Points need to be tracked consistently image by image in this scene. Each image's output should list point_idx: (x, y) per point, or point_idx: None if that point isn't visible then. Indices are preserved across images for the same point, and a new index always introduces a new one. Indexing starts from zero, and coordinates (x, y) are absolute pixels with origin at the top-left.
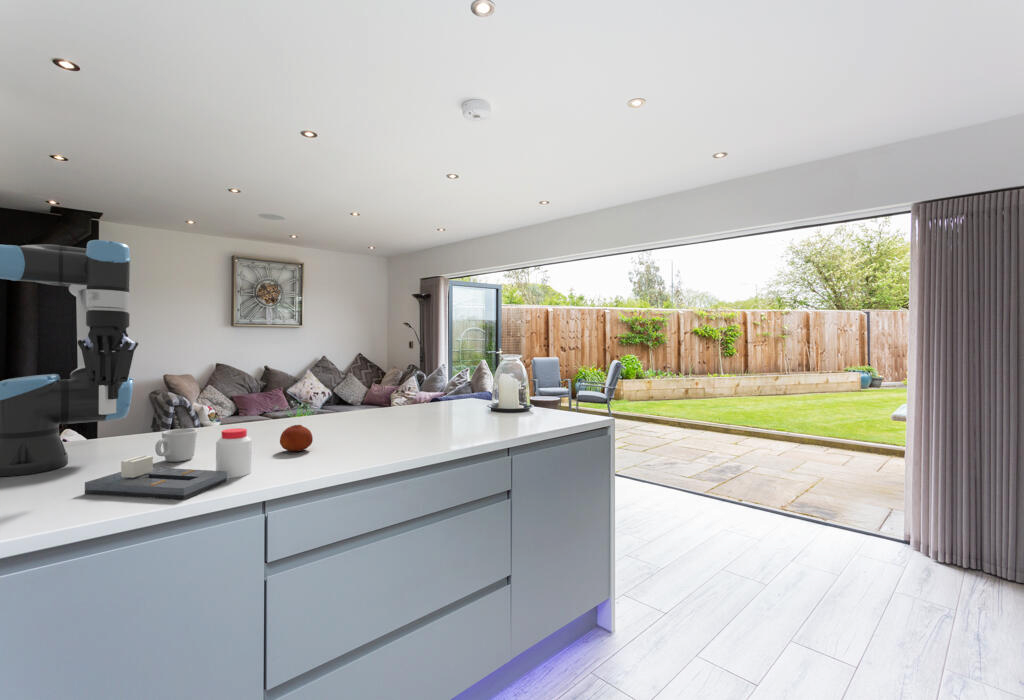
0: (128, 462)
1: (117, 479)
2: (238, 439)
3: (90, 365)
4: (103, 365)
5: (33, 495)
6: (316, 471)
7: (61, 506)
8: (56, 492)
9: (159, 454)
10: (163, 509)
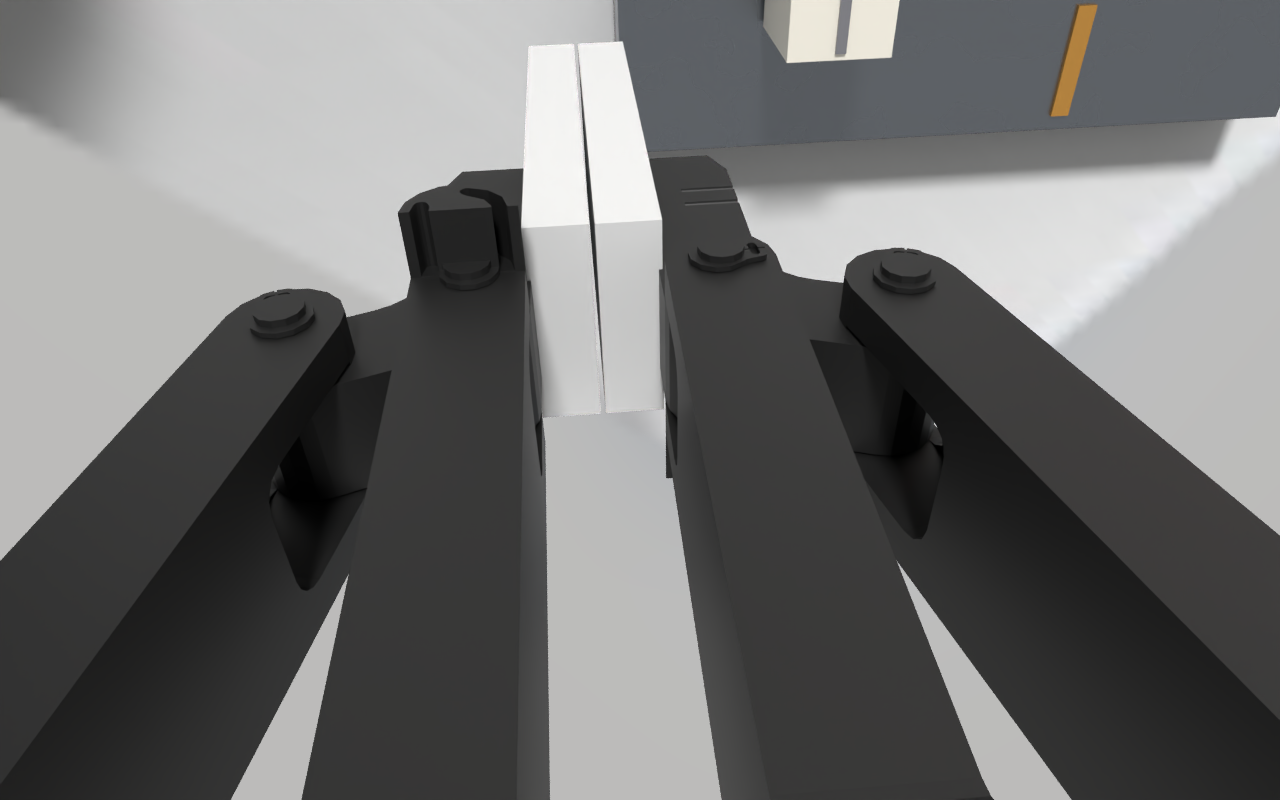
0: (846, 57)
1: (761, 53)
2: None
3: (249, 727)
4: (536, 660)
5: (371, 202)
6: None
7: None
8: (429, 134)
9: None
10: (1188, 221)
